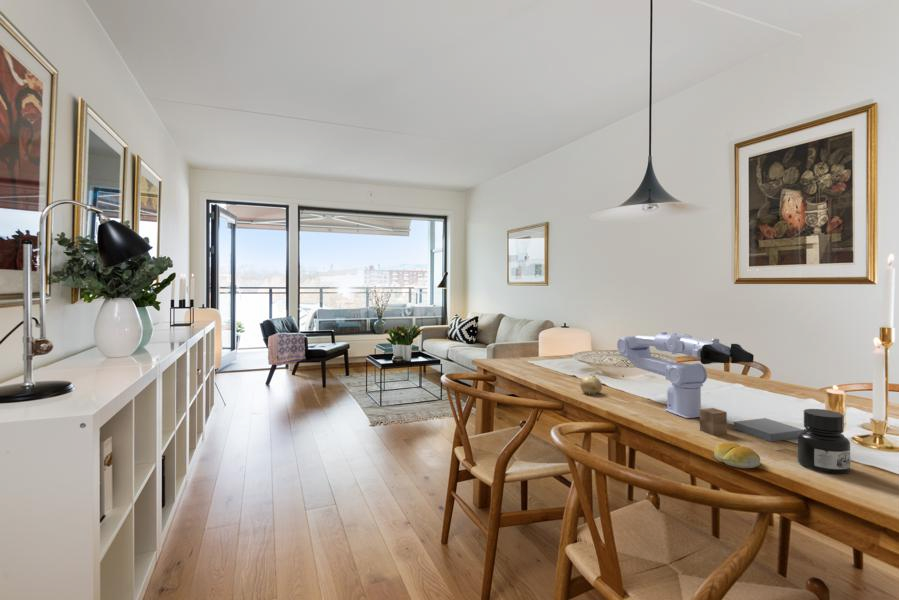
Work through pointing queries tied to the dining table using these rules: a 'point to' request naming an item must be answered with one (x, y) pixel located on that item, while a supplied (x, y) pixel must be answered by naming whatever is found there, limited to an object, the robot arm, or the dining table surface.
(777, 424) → the slate base
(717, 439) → the dining table surface
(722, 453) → the bread roll
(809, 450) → the ink bottle
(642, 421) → the dining table surface
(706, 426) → the walnut block
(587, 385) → the onion
